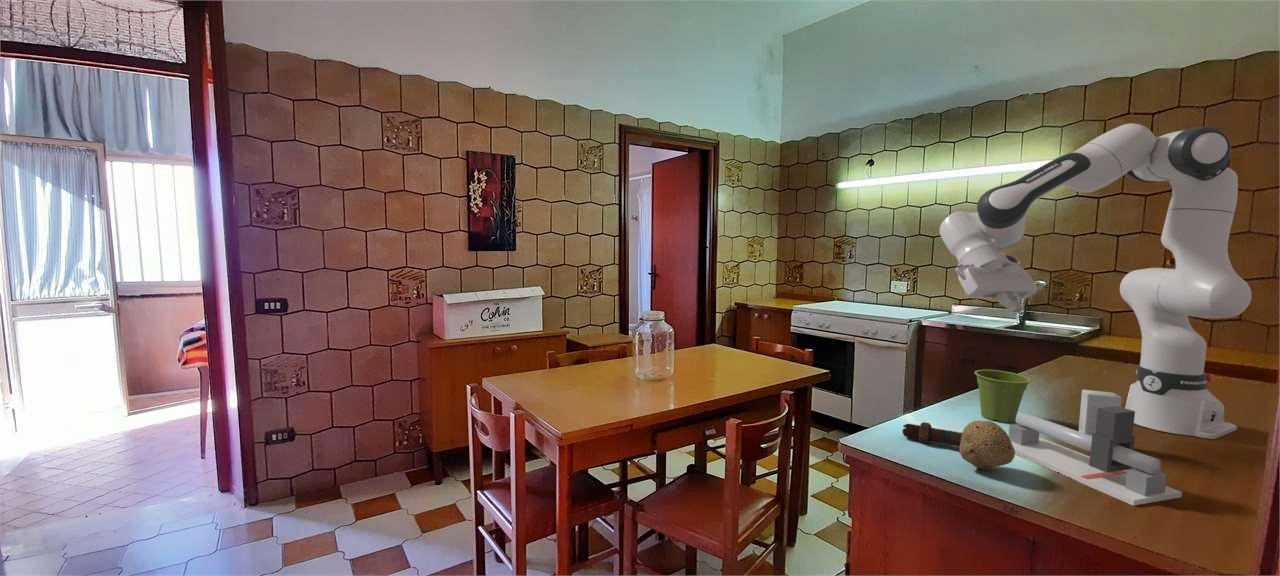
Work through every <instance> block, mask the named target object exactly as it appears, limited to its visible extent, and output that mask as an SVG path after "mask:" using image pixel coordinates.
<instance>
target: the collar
mask: <svg viewBox="0 0 1280 576" xmlns="http://www.w3.org/2000/svg"><path fill="white" fill-rule="evenodd" d="M1134 417H1135V411H1132V410H1129V409H1125V407H1122V406H1121V407H1118V406H1114V407H1104V408H1098V411H1097V421H1096V431H1095V433H1094V434H1092V443H1091V452H1090V454H1089V457H1090V463H1089V466H1091V467H1094V468H1096V469H1099V470H1101V471H1104V472H1106V473H1107V472H1114V471H1121V470H1126V471H1127V470H1131V469H1132V468H1133V467H1130V466H1128V465H1125V464H1122V463H1120V462H1117V461H1114V460H1112V453H1113V444H1117V445H1119V446H1122V447H1125V448H1128V449H1131V450H1134V451H1135V442H1136V441H1135V440H1136V437H1135V436H1134V435H1133V434H1134V425H1135V423H1134Z"/></svg>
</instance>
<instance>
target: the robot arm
mask: <svg viewBox="0 0 1280 576" xmlns="http://www.w3.org/2000/svg"><path fill="white" fill-rule="evenodd" d="M1231 144H1232V143H1231V141H1230V138H1229V136H1228V135H1227V133H1225V132H1224V131H1223V130H1222V129H1219V128H1217V127H1212V126H1197V127H1196V126H1195V127H1191V128H1187V129H1182V130H1179V131H1173V132H1169V133H1166V134H1163V135H1160V136H1155V135H1154V133H1153V132H1152V131H1151V130H1150V129H1149V128H1148V127H1146V125H1145V126H1144V125H1142V124H1139V123H1134V122H1133V123H1126V124H1122V125H1119V126H1117V127H1115V128H1112V129H1110V130H1108V131H1106V132H1104V133H1103V134H1101V135H1099V136H1096V137H1095V138H1093V139H1092V140H1090V141H1088V142H1086V143H1085V144H1084V145H1082V146H1080V147H1078V149H1076V150H1074V151H1072V152H1068V153H1067V154H1066V153H1065V154H1063V155H1061V156H1058V157H1056V158H1054V159H1053V160H1051V161H1049V162H1047V163H1045V164H1043V165H1042V166H1040V167H1038V168H1036V169H1035V170H1032V171H1031V172H1029V173H1027V174H1025V175H1024V176H1022V177H1020V178H1018V179H1016V180H1014V181H1011V182H1009V183H1008V182H1007V183H1004V184H1001V185H999V186H995V187H993V188H991V189H989V190H987V191H985V192H984V193H983V194H982V195H981V196H980V197H979V199H978V202H977V204H976V210H977V211H976V212H968V211H964V210H957V211H954V212H953V213H951V214H949V215H948V216H947V217H945V218H944V219H943V221H942V222H941V223H940V226H939V235H940V238H941V239H942V241H943V243H944V245H945V246H946V248H947V249H948V252H950V254H951V255H952V256H954V257H955V258H956V259H957V263H958V265H957V266H956V267H955V272H956V273H957V275H958V276H957V278H958V281H959V283H960V285H961V287H962V288H963V291H964V293H965V294H966V295H967V296H968V297H969V298H971V299H975V300H976V299H995V300H996V302H998V303H999V304H1000V305H1002V306H1003V307H1005V308H1006V310H1007V311H1008V312H1009V313H1020V312H1022V311H1023V310H1024V306H1023V305H1022V303H1021V299H1029V298H1030V297H1031V296H1033V295H1034V294H1036V293H1037V292H1038V287H1037V284H1036V283H1035V281H1034V280H1033V279H1032V276H1030V274H1029V273H1028V272H1027V271H1026V270H1025V269H1024V268H1023V267H1022V266H1020V265H1021V262H1020V260H1019V259H1018V258H1017V257H1014V256H1012V255H1009V254H1006V253H1004V252H1003V251H1000V250H1002V249H1006V248H1009V247H1012V246H1014V245H1016V244H1017V243H1018V242H1019V241H1021V240H1022V238H1023V237H1024V236H1025V231H1026V218H1027V213H1028V210H1029V209H1030V207H1031V206H1032V205H1033V203H1034V202H1035V201H1037V200H1039V199H1040V198H1042V197H1044V196H1046V195H1049V193H1051V192H1053V191H1055V190H1057V189H1059V188H1060V187H1062V186H1065V187H1066V188H1069V189H1070V190H1072V191H1074V192H1078V193H1085V194H1086V193H1087V194H1089V193H1093V192H1096V191H1099V190H1101V189H1103V188H1105V187H1107V186H1109V185H1110V184H1112V183H1114V182H1115V181H1117V180H1118V179H1120V178H1121V177H1123V176H1125V175H1126V176H1127V177H1128V178H1129V179H1131V180H1133V181H1137V182H1140V183H1148V184H1149V183H1150V184H1151V183H1157V182H1166V181H1167V182H1168V183H1169V184H1170V187H1171V193H1172V196H1171V198H1170V201H1169V204H1168V209H1167V213H1166V217H1165V219H1164V220H1165V221H1164V225H1163V229H1162V233H1161V236H1160V242H1161V244H1162V246H1163V247H1164V248H1165V249H1167V250H1169V251H1170V252H1171V253H1172V255H1173V257H1174V261H1175V268H1164V267H1149V268H1142V269H1135V270H1132V271H1130V272H1128V273H1126V274H1125V276H1124V277H1123V278H1122V280H1121V282H1120V285H1119V294H1120V296H1121V298H1122V300H1123V301H1124V302H1125V303H1127V304H1128V306H1129V307H1130V308H1131V309H1132V310H1133V312H1134V314H1135V316H1136V319H1137V321H1138V325H1139V328H1140V332H1141V333H1140V335H1141V347H1140V349H1141V350H1140V351H1141V352H1140V361H1139V364H1138V365H1137V368H1136V370H1135V374H1136V375H1135V379H1136V381H1135V382H1133V383H1132V384H1130V385H1129V390H1128V395H1127V399H1126V403H1125V407H1124V408H1125V409H1129V410H1132V411H1135V417H1134V425H1135V424H1136V425H1138V426H1140V427H1145V428H1147V429H1151V430H1155V431H1160V432H1165V433H1171V434H1176V435H1183V436H1190V437H1191V436H1192V437H1198V438H1203V439H1209V440H1215V439H1218V438H1220V437H1224V436H1225V435H1228V434H1231V433H1233V432H1235V431H1237V430H1238V426H1237V425H1236V424H1233V423H1231V422H1229V421H1225V420H1224V417H1225V405H1224V404H1223V403H1222V401H1220V400H1219V399H1218V398H1217V397H1216V396H1214V395H1213V394H1212V393H1211V392H1210V391H1209V390H1208V388H1209V387H1208V383H1213V382H1214V381H1215V379H1216V376H1215V374H1213V373H1206V372H1205V371H1204V370H1205V363H1206V355H1207V341H1206V340H1205V338H1204V337H1203V336H1201V335H1200V334H1199V333H1198V332H1197V331H1196V330H1194V328H1193V327H1192V325H1191V323H1190V321H1189V317H1193V318H1199V319H1200V318H1201V319H1228V318H1234V317H1237V316H1238V315H1240V314H1242V313H1243V312H1245V311H1246V309H1247V308H1248V306H1249V305H1250V303H1251V300H1252V291H1251V290H1252V289H1251V287H1250V286H1249V284H1248V283H1247V281H1246V280H1244V279H1243V278H1242V277H1241V276H1240V275H1239V274H1238V273H1237V272H1236V271H1235V269H1234V268H1233V265H1232V263H1231V261H1230V258H1229V257H1230V256H1229V252H1228V251H1229V250H1228V248H1229V247H1228V246H1229V245H1228V244H1229V238H1230V232H1231V229H1232V224H1233V220H1234V216H1235V214H1236V213H1235V212H1236V207H1237V201H1238V196H1239V195H1238V193H1239V181H1238V180H1239V177H1238V174H1237V173H1236V171H1234V170H1233V169H1232V168H1230V167H1229V165H1230V163H1231V162H1232V161H1231V155H1232V154H1231V153H1232V145H1231Z"/></svg>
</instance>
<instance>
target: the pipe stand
mask: <svg viewBox="0 0 1280 576" xmlns="http://www.w3.org/2000/svg"><path fill="white" fill-rule="evenodd" d="M1015 423H1016V424H1009V425H1008V426H1009V428H1008V437H1009V438H1010V441H1011V443H1012V446H1013V447H1014V450H1015V455H1016V456H1018V455H1019V456H1018V457H1020V456H1021V457H1020V458H1022V457H1023V459H1025V458H1026V459H1025V460H1027V459H1028V460H1027V461H1029V460H1030V461H1029V462H1032V461H1033V462H1032V463H1034V462H1035V463H1034V464H1036V463H1038V464H1037V465H1039V464H1040V465H1039V466H1041V465H1042V466H1041V467H1043V466H1045V467H1047V468H1046V469H1048V468H1049V469H1048V470H1050V469H1051V471H1052V470H1053V472H1055V471H1056V472H1055V473H1057V472H1059V473H1061V474H1060V475H1062V474H1063V475H1062V476H1064V475H1065V476H1064V477H1066V476H1067V477H1066V478H1068V477H1070V478H1069V479H1071V478H1072V479H1071V480H1073V479H1074V480H1073V481H1075V480H1076V482H1078V483H1079V484H1082V485H1085V486H1086V487H1087V486H1088V487H1089V488H1092V489H1095V490H1096V491H1099V492H1100V493H1103V494H1106V495H1108V496H1110V497H1113V498H1115V499H1116V500H1119V501H1122V502H1124V503H1127V504H1128V505H1131V506H1138V505H1145V504H1150V503H1156V502H1161V501H1168V500H1173V499H1179V498H1182V497H1183V496H1182V495H1183V492H1182V491H1180V490H1178V489H1175V488H1173V487H1170V486H1168V485H1167V478H1168V473H1164V472H1162V471H1160V470H1161V465H1162V463H1161V460H1160V459H1159V458H1156V457H1153V456H1151V455H1148V454H1144V453H1142V452H1139V451H1136V450H1135V449H1134V450H1131V449H1128V448H1125V447H1122V446H1119V445H1117V444H1113V453H1112V460H1114V461H1117V462H1120V463H1122V464H1125V465H1128V466H1130V467H1132V468H1133V469H1132V468H1131V469H1127V470H1121V471H1114V472H1107V473H1106V472H1104V471H1101V470H1099V469H1096V468H1094V467H1091V466H1089V463H1090V455H1087V454H1084V453H1082V452H1079V451H1076V450H1073V449H1071V448H1069V447H1065V446H1063V445H1060V444H1057V443H1055V442H1053V441H1050V440H1047V439H1045V438H1042V437H1040V434H1043V435H1045V436H1047V437H1050V438H1053V439H1056V440H1058V441H1061V442H1064V443H1067V444H1069V445H1072V446H1074V447H1077V448H1080V449H1081V450H1082V449H1083V450H1085V451H1088V452H1090V453H1091V443H1092V436H1090V435H1087V434H1085V433H1082V432H1079V430H1076V429H1072V428H1069V427H1066V426H1064V425H1061V424H1058V423H1055V422H1053V421H1049V420H1047V419H1044V418H1041V417H1039V416H1035V415H1032V414H1030V413H1027V412H1023V411H1020V412H1017V415H1016V418H1015ZM1045 467H1044V468H1045ZM1059 473H1058V474H1059Z"/></svg>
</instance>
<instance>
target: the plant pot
mask: <svg viewBox="0 0 1280 576" xmlns="http://www.w3.org/2000/svg"><path fill="white" fill-rule="evenodd" d="M974 374H975V375H976V381H977V384H978V391H979V392H978V393H979V402H980V413H981V416H982V417H984V418H986V419H987V420H989V421H994V420H995V421H998V422H1001V423H1013V422H1015V421H1016V416H1017V414H1018V413H1019V409H1020V405H1021V403H1022V399H1023V396H1024V393H1025V391H1026V389H1027V386H1028V384H1029V383H1031V380H1032V379H1031V378H1029V377H1027V376H1025V375H1022V374H1020V373H1019V374H1018V373H1016V372H1015V373H1014V372H1010V371H1004V370H998V369H997V370H996V369H978V370H975V371H974Z"/></svg>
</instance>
